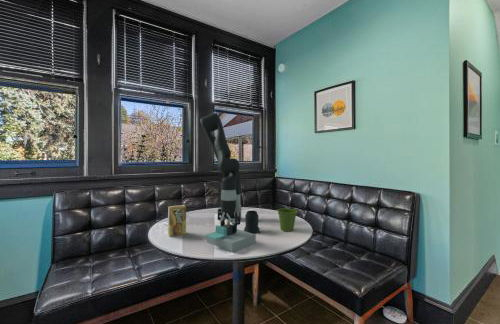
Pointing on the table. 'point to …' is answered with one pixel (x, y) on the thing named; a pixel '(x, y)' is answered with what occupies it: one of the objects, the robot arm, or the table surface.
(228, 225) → the plug
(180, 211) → the candy box
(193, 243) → the table surface
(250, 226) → the mug
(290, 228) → the plant pot
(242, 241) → the socket plate
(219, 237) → the shutter
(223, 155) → the robot arm
